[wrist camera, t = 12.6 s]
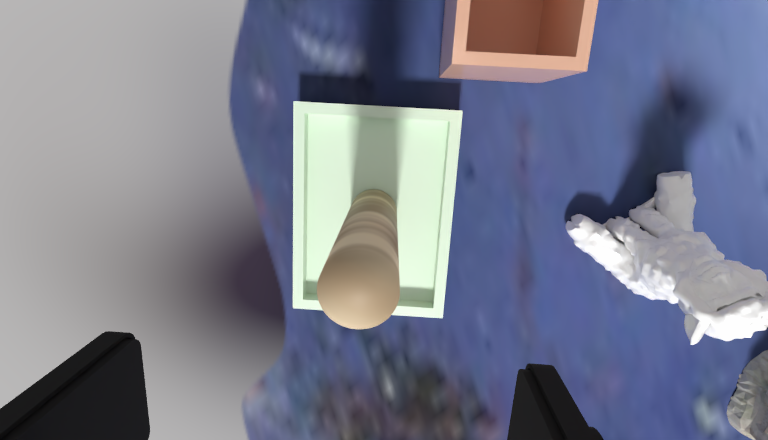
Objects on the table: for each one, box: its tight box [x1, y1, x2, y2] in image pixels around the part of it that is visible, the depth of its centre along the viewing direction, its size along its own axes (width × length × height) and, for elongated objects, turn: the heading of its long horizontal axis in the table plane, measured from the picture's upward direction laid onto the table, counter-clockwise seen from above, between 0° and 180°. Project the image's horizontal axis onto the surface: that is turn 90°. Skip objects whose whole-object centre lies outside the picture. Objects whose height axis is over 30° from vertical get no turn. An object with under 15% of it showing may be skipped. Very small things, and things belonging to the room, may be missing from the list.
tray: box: [293, 101, 463, 318], centre depth 32 cm, size 16×12×2 cm
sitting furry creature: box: [566, 171, 768, 345], centre depth 27 cm, size 10×9×12 cm
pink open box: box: [439, 0, 598, 83], centre depth 26 cm, size 7×7×8 cm
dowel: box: [317, 189, 400, 329], centre depth 25 cm, size 4×4×15 cm
